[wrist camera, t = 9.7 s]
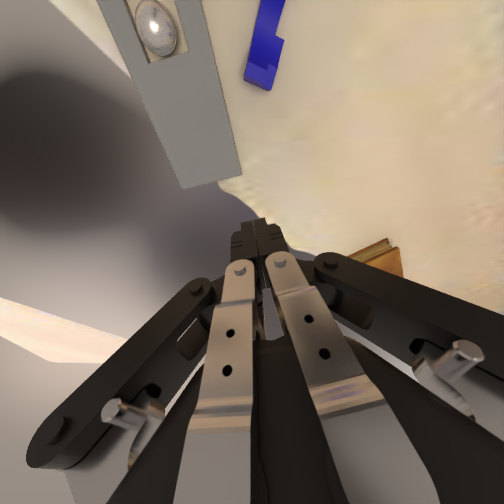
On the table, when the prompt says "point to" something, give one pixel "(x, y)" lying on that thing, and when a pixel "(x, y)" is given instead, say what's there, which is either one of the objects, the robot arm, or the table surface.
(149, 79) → the pocket slab
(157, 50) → the steel ball
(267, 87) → the cable clip
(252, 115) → the table surface
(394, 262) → the diary
